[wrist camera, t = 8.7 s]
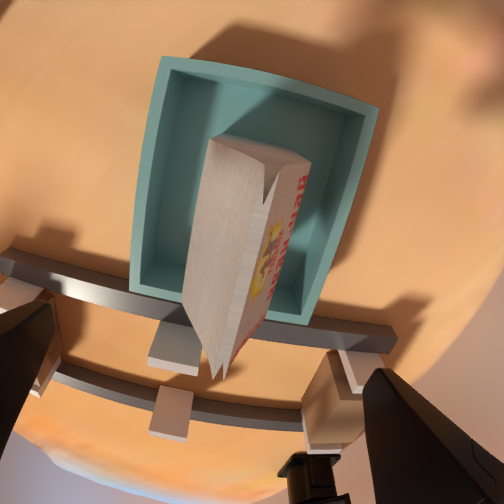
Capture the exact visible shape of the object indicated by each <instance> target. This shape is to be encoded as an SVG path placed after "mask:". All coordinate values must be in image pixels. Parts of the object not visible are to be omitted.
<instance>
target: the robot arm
mask: <svg viewBox="0 0 504 504" xmlns="http://www.w3.org/2000/svg"><path fill="white" fill-rule="evenodd" d="M54 334H55V321H54V315H53V309H52V305H51V304H50V303H49V302H46V301H43V300H41V299H37V300H34V301H32V302H29V303H26V304H24V305H21V306H19V307H16V308H14V309H11V310H9V311H6V312H4V313H1V314H0V459H1V457H2V454H3V451H4V449H5V446H6V444H7V441H8V439H9V436H10V434H11V432H12V429H13V427H14V425H15V422H16V420H17V418H18V416H19V413H20V411H21V409H22V407H23V405H24V403H25V401H26V399H27V396H28V394H29V392H30V390H31V388H32V386H33V384H34V382H35V380H36V378H37V376H38V373H39V371H40V368H41V366H42V363H43V361H44V358H45V356H46V353H47V351H48V348H49V346H50V344H51V341H52V339H53V337H54ZM362 399H363V410H364V423H365V435H366V443H367V448H368V454H369V460H370V466H371V473H372V479H373V485H374V493H375V500H376V504H504V463H502V462H501V461H499V460H498V459H497V458H495V457H494V456H493V455H491V454H490V453H489V452H488V451H486V450H485V449H484V448H483V447H482V446H480V445H479V444H478V443H477V442H476V441H474V440H473V439H472V438H470V436H468V435H467V434H466V433H465V432H464V431H463V430H461V429H460V428H459V427H458V426H457V425H456V424H454V423H453V422H452V421H451V420H450V419H449V418H447V417H446V416H445V415H444V414H442V412H440V411H439V410H438V409H437V408H436V407H435V406H433V405H432V404H431V403H430V402H429V401H428V400H426V399H425V398H424V397H423V396H422V395H421V394H419V393H418V392H417V391H416V390H415V389H414V388H412V387H411V386H410V385H409V384H408V383H407V382H405V381H404V380H403V379H402V378H401V377H400V376H398V375H397V374H396V373H395V372H394V371H392V370H391V369H390V368H380V367H379V368H376V369H375V370H374V371H373V373H372V374H371V376H370V378H369V379H368V381H367V382H366V384H365V385H364V387H363V390H362ZM340 458H341V455H340V454H332V455H293V456H291V457H290V458H289V460H288V461H287V462H286V464H285V465H284V466H283V467H282V469H281V470H280V471H279V472H278V474H277V477H282V478H287V486H288V497H289V504H351V501H350V496H349V493H347V494H344V495H341V496H337V492H336V486H335V479H334V474H333V469H332V466H334V465H335V464H336V463H337V462H338V461H339V460H340Z"/></svg>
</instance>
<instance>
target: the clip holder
mask: <svg viewBox="0 0 504 504" xmlns="http://www.w3.org/2000/svg"><path fill="white" fill-rule="evenodd" d="M0 269H1V274H4V275H7V276H9V277H8V278H7V279H6V280H5V281H4V282H3V283H2V284H1V285H0V314H1V313H4V312H6V311H9V310H11V309H14V308H16V307H19V306H21V305H24V304H26V303H29V302H32V301H33V300H34V299H35V298H36V297H37V296H38V295H39V294H40V293H41V291H42V290H43V289H47V290H50V291H54V292H57V293H60V294H63V295H66V296H70V297H73V298H76V299H80V300H83V301H87V302H90V303H94V304H97V305H101V306H105V307H108V308H112V309H116V310H120V311H123V312H127V313H131V314H135V315H139V316H144V317H148V318H152V319H156V320H161V321H160V324H159V326H158V329H157V332H156V334H155V337H154V340H153V343H152V345H151V348H150V351H149V354H148V363H147V366H151V367H155V368H159V369H164V370H168V371H173V372H177V373H182V374H187V375H192V376H197V375H198V370H199V364H200V358H201V351H202V344H201V341H200V339H199V337H198V335H197V333H196V331H195V329H194V327H193V325H192V323H191V321H190V319H189V317H188V315H187V313H186V311H185V309H184V307H183V305H182V303H180V302H176V301H171V300H166V299H162V298H158V297H153V296H149V295H145V294H140V293H136V292H132V291H129V280H127V279H123V278H119V277H115V276H111V275H107V274H103V273H99V272H95V271H91V270H87V269H83V268H79V267H76V266H72V265H68V264H64V263H61V262H57V261H54V260H50V259H46V258H43V257H39V256H36V255H32V254H29V253H26V252H22V251H19V250H16V249H12V248H8V249H6V250H5V251H4V252H2V253H1V254H0ZM250 338H253V339H259V340H265V341H272V342H279V343H286V344H293V345H301V346H309V347H317V348H326V349H335V350H338V352H339V355H340V358H341V361H342V364H343V367H344V370H345V373H346V376H347V379H348V382H349V385H350V388H351V391H352V393H356V394H362V390H363V387H364V385H365V384H366V382H367V381H368V379H369V378H370V376H371V374H372V373H373V371H374V370H375V369H376V368H379V367H380V368H385V366H384V363H383V361H382V359H381V357H380V355H379V353H380V354H389V353H390V352H391V350H392V348H393V347H394V345H395V343H396V342H397V340H398V337H397V335H396V334H395V332H394V330H393V329H392V327H390V326H382V325H374V324H366V323H359V322H351V321H344V320H337V319H330V318H323V317H317V316H311V318H310V320H309V323H308V325H301V324H295V323H288V322H282V321H276V320H270V319H264V320H263V321H262V323H261V324H260V325H259V326H258V328H257V329H256V330H255V331H254V333H253V334H252V335H251V336H250ZM51 379H52V380H55V381H57V382H60V383H62V384H65V385H67V386H70V387H73V388H76V389H78V390H81V391H84V392H87V393H90V394H93V395H96V396H99V397H102V398H105V399H109V400H112V401H115V402H119V403H122V404H126V405H129V406H133V407H137V408H141V409H145V410H149V411H153V415H152V419H151V423H150V427H149V435H151V436H156V437H160V438H165V439H169V440H174V441H179V442H184V443H186V441H187V434H188V427H189V421H190V420H196V421H202V422H208V423H214V424H221V425H228V426H236V427H244V428H254V429H265V430H278V431H296V432H304V437H305V443H306V450H307V454H335V453H339V452H340V451H341V450H342V444H341V443H324V444H313V443H308V437H307V431H306V425H305V419H304V413H303V407H302V408H301V410H287V409H275V408H264V407H255V406H247V405H239V404H232V403H225V402H219V401H212V400H206V399H201V398H195V397H193V395H194V392H192V391H187V390H182V389H177V388H172V387H168V386H163V385H160V388H159V390H157V389H153V388H149V387H145V386H141V385H137V384H133V383H129V382H126V381H122V380H119V379H115V378H112V377H108V376H105V375H102V374H99V373H95V372H92V371H89V370H86V369H83V368H80V367H77V366H75V365H72V364H69V363H66V362H63V361H62V360H61V356H59V357H58V359H57V360H56V362H55V364H54V365H53V367H52V369H51V370H50V372H49V374H48V375H47V377H46V379H45V380H44V382H43V384H42V385H41V387H39V386H37V385H35V384H33V386H32V388H31V390H30V392H29V393H30V394H32V395H35V396H37V397H39V398H41V396H42V394H43V392H44V391H45V389H46V387H47V385H48V384H49V382H50V380H51Z"/></svg>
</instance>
